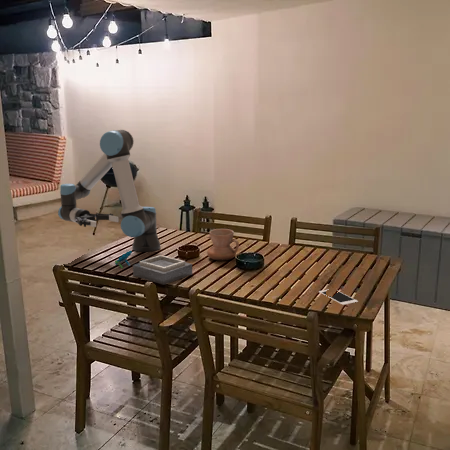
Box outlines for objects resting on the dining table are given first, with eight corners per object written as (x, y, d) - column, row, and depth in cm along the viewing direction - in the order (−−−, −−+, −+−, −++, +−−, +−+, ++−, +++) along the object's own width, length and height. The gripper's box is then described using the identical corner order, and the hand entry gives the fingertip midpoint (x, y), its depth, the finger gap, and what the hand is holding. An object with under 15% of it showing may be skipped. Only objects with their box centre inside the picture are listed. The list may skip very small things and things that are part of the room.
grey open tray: (162, 266, 240) (161, 253, 239) (192, 274, 228) (192, 260, 227) (133, 275, 227) (132, 261, 225) (163, 284, 215) (163, 270, 213)
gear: (124, 257, 249) (133, 246, 243) (132, 266, 248) (141, 255, 242) (109, 266, 240) (117, 255, 234) (116, 275, 239) (125, 264, 233)
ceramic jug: (199, 259, 250) (199, 232, 247) (214, 252, 263) (214, 226, 259) (231, 265, 242) (231, 237, 239) (244, 257, 254) (245, 230, 251)
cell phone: (342, 306, 191) (342, 304, 191) (318, 292, 206) (318, 291, 205) (358, 302, 195) (358, 301, 194) (333, 289, 209) (333, 288, 209)
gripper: (100, 219, 266) (127, 224, 253) (60, 227, 247) (86, 234, 234) (100, 205, 265) (126, 210, 252) (58, 212, 246) (85, 218, 233)
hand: (107, 221), depth 243 cm, fingers open, 13 cm apart
